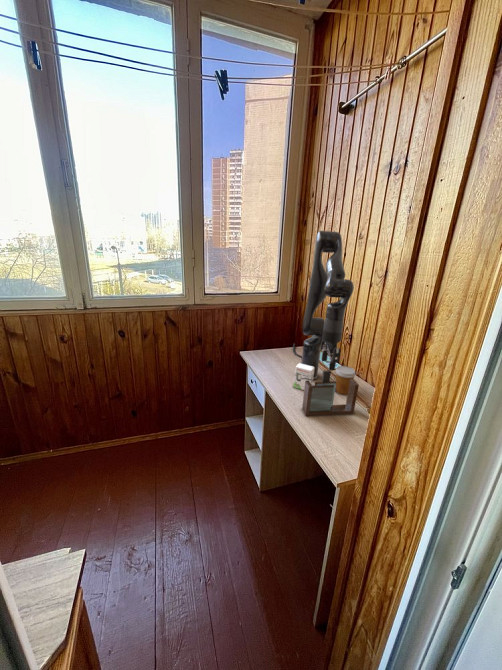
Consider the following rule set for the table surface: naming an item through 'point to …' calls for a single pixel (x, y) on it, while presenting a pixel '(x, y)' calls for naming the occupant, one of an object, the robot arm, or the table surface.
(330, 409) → the window frame
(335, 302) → the robot arm
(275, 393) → the table surface
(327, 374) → the sliding pane
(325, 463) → the table surface
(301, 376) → the ink box
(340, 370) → the disposable coffee cup
